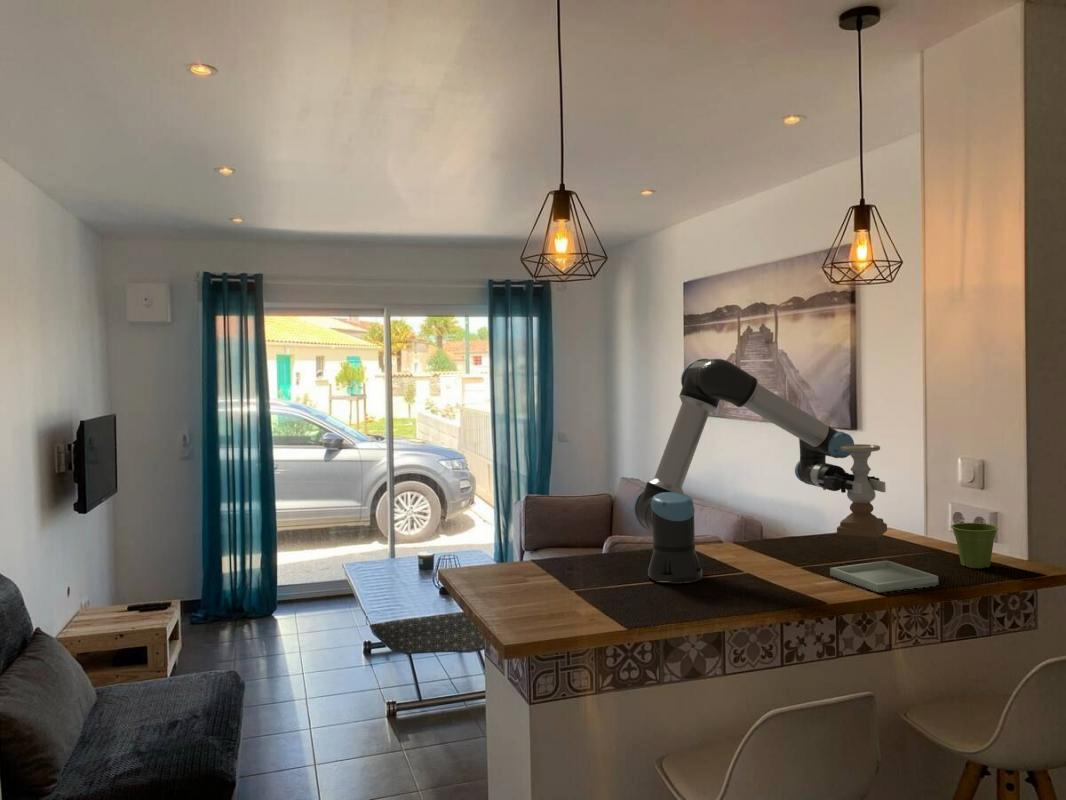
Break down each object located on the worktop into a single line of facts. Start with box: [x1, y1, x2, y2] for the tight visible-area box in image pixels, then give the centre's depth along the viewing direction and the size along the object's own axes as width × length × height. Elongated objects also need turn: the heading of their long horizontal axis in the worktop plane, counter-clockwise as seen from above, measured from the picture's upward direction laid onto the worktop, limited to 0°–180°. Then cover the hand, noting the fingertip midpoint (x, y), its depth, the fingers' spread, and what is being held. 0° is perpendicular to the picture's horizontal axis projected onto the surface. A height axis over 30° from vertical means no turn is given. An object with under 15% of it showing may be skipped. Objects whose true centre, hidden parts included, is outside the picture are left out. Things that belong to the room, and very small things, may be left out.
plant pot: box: [950, 522, 999, 570], centre depth 234 cm, size 12×12×11 cm
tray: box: [829, 560, 939, 592], centre depth 223 cm, size 19×19×2 cm
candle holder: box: [836, 443, 888, 539], centre depth 228 cm, size 11×11×24 cm
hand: (872, 488), depth 223 cm, fingers closed on candle holder, 6 cm apart
